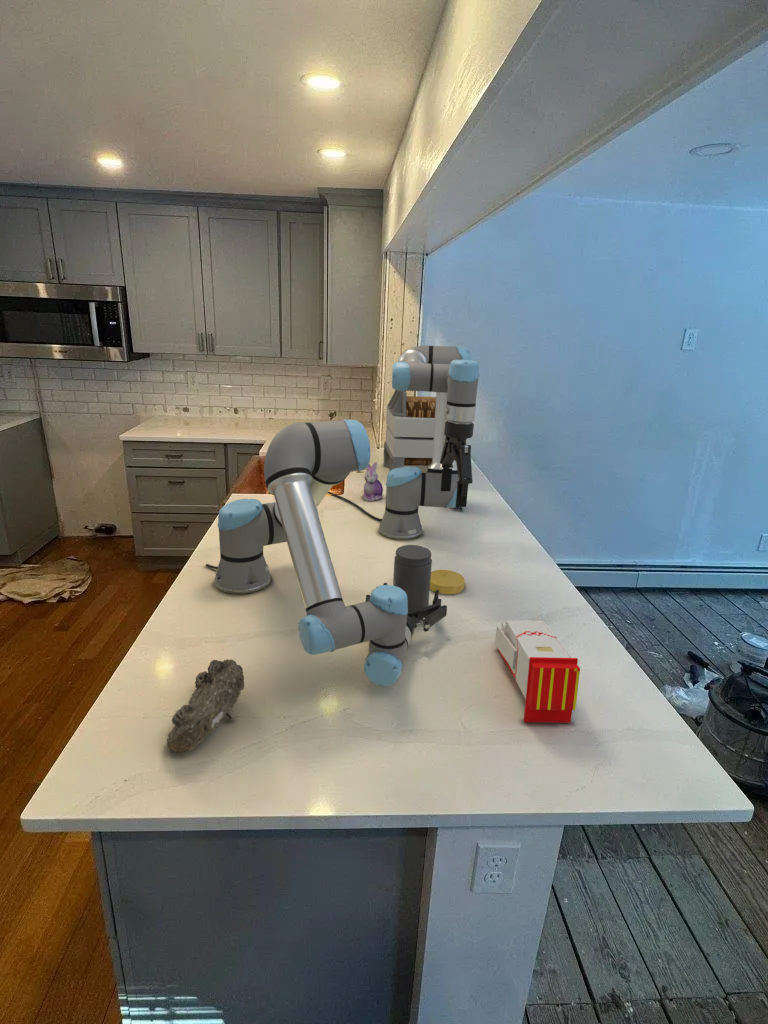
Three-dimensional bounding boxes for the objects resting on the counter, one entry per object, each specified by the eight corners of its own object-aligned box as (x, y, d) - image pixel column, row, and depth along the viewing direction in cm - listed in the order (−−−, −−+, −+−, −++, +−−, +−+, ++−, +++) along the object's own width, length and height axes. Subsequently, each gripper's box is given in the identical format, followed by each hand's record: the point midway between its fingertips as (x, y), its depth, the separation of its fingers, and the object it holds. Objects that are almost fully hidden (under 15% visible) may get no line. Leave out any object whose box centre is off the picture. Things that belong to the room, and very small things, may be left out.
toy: (541, 605, 135) (589, 664, 106) (536, 657, 138) (581, 729, 108) (490, 604, 135) (524, 663, 105) (486, 656, 137) (518, 728, 108)
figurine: (367, 502, 230) (368, 467, 225) (357, 495, 238) (358, 460, 233) (388, 500, 234) (389, 465, 229) (377, 492, 242) (378, 458, 237)
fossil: (192, 660, 117) (244, 628, 112) (224, 691, 120) (276, 661, 115) (142, 746, 98) (202, 712, 93) (182, 779, 101) (242, 748, 96)
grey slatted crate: (382, 463, 289) (386, 382, 275) (445, 464, 293) (451, 384, 279) (390, 482, 257) (394, 392, 243) (460, 483, 261) (468, 394, 247)
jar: (384, 604, 152) (387, 550, 146) (410, 594, 158) (413, 541, 153) (409, 619, 145) (413, 562, 140) (435, 608, 151) (440, 553, 146)
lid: (461, 597, 158) (461, 589, 157) (422, 590, 160) (422, 582, 160) (466, 580, 168) (467, 573, 167) (430, 574, 170) (430, 567, 170)
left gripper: (341, 639, 131) (363, 597, 150) (449, 656, 126) (457, 610, 146) (342, 611, 128) (364, 571, 148) (452, 627, 124) (460, 584, 143)
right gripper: (432, 412, 159) (427, 485, 166) (461, 431, 136) (453, 514, 143) (458, 412, 160) (451, 484, 167) (490, 431, 137) (482, 513, 144)
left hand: (411, 590), depth 147 cm, fingers open, 13 cm apart
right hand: (452, 498), depth 155 cm, fingers open, 13 cm apart
